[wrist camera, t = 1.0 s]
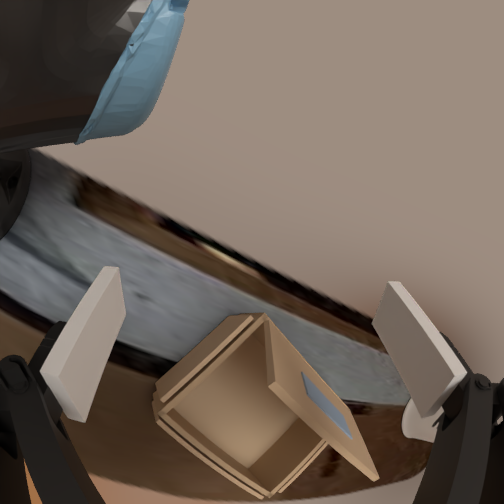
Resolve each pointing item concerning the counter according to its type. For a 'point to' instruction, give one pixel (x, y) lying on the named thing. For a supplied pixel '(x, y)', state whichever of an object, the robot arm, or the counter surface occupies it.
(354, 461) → the flap
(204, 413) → the carton
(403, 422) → the mug
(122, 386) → the counter surface
